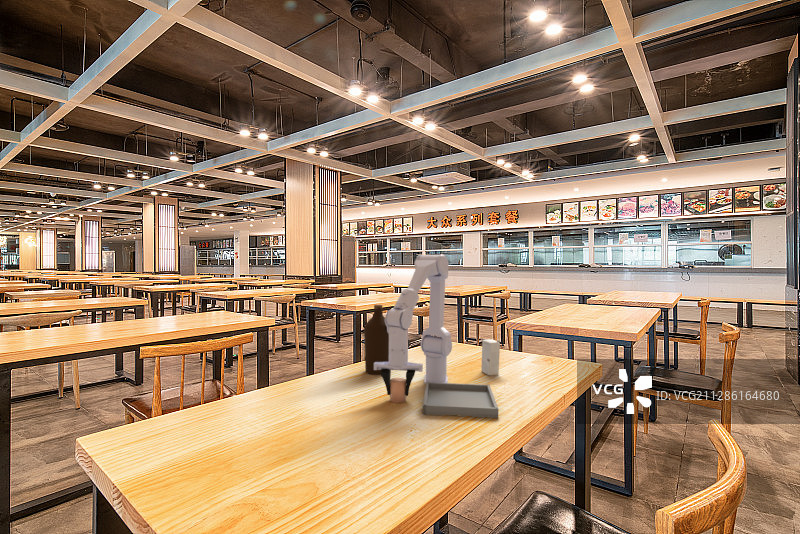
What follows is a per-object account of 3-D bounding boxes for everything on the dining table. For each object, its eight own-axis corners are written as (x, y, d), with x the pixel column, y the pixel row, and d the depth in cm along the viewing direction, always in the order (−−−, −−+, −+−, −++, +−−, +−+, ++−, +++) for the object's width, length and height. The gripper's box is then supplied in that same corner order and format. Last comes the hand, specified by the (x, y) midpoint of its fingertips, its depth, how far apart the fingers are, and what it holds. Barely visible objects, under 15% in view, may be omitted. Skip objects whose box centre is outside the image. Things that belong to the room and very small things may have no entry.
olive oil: (396, 369, 149) (396, 304, 148) (385, 376, 139) (386, 307, 138) (370, 366, 152) (371, 303, 152) (359, 373, 142) (359, 306, 142)
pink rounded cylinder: (391, 396, 118) (391, 377, 118) (406, 397, 118) (406, 378, 118) (389, 402, 113) (389, 382, 113) (405, 403, 113) (405, 383, 113)
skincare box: (480, 371, 146) (481, 339, 146) (491, 370, 148) (491, 338, 147) (489, 375, 140) (489, 342, 140) (500, 374, 142) (500, 342, 141)
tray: (426, 390, 125) (426, 382, 125) (489, 392, 122) (489, 384, 122) (423, 414, 105) (423, 405, 105) (498, 418, 103) (498, 408, 102)
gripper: (371, 351, 112) (371, 397, 112) (421, 353, 110) (421, 400, 111) (376, 346, 119) (375, 389, 119) (423, 347, 118) (422, 391, 118)
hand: (398, 394), depth 115 cm, fingers closed on pink rounded cylinder, 5 cm apart
